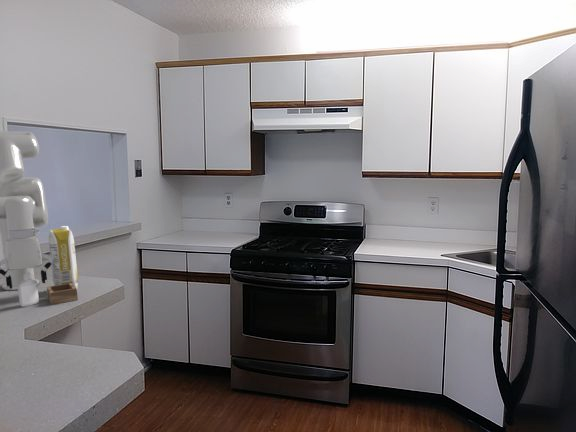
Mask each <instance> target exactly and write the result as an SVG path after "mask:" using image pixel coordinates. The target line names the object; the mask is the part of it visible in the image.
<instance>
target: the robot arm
mask: <svg viewBox="0 0 576 432" xmlns="http://www.w3.org/2000/svg"><path fill="white" fill-rule="evenodd" d="M39 154H40V145H39V142H38V139H37V137H36V136H35V135H34V133H33V132H31V131H26V130H24V131H23V130H22V131H19V130H17V131H16V130H15V131H14V130H13V131H11V130H10V131H9V130H8V131H7V130H3V131H0V239H1V247H2V253H3V254H2V256H3V259H1V260H0V274H1V275H2V276H3V277H5V283H4V284H3V285H2V286H1V287H2V289H3V290H4V291H14V290H15V291H18V284H19V283H20V282H21V281H23V279H22V274H23V273H24V270H26V269H27V271H28V273H30V276H31V280H35V281H36V282H37V286H38V285H39V284H41V283H42V284H46V281H48V277H47V270H48V269H49V268H50V267H52V266H51V264H52V261H53V259H54V257H53V256H50V254H46V253H42V250H41V249H42V248H41V246H40V245H41V244H40V242H39V239H38V236H36V235H37V234H40V229H37V228H43V227H46V226H47V225H48V224H49V212H48V211H49V210H48V204H47V200H46V199H47V198H46V192H45V186H44V184H43V182H42V180H41V179H40V178H38V177H37V176H34V177H33V176H28V177H27V176H26V177H25V167H24V162H23V161H24V160H23V159H32V158H33V159H34V158H37V157H38V156H39ZM23 176H24V177H23ZM43 259H47V262H46V263H45V264H43ZM1 266H4V269H3V268H2V267H1ZM34 268H40V276H41V283H40V279H37V278H35V270H34Z"/></svg>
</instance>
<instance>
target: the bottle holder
mask: <svg viewBox="0 0 576 432" xmlns="http://www.w3.org/2000/svg"><path fill="white" fill-rule="evenodd" d="M46 292H47V293H46V294H47V300H48V301H49V302H50V304H51V305H52V306H53V305H59V304H64V303H69V302H75V301H78V300H79V298H78V288H76V287H75V286H74V285H73V284H72V283H67V284H61V285H51V286H46Z"/></svg>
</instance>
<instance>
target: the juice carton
mask: <svg viewBox="0 0 576 432" xmlns="http://www.w3.org/2000/svg"><path fill="white" fill-rule="evenodd" d="M48 246H49V247H48V248H49V255H50V256H53V257H54V259H53V261H52V264H51V266H50V267H51V274H52V282H53V286H55V285H61V284H67V283H72V284H73V285H74V286H75V287H76V288H77V289H78V287H79V278H78V277H79V276H78V274H79V273H78V266H77V257H76V246H75V237H74V234H73V232H72V230H71V229H70V228H69V226H68V225H63V226H60V228H54V229H50V230H49V233H48Z"/></svg>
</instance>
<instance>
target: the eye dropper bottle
mask: <svg viewBox="0 0 576 432" xmlns="http://www.w3.org/2000/svg"><path fill="white" fill-rule="evenodd" d="M22 279H23V281H21V282H20V283H19V284H18V290H17V293H18V302H19V303H18V304H19V306H20V307H24V308H25V307H30V306H33V305H37V304H39V303H40V298H39V296H40V295H39V289H38V285H37V282H36V281H35V280H31V276H30V273H28V271H27V269H26V270H24V273H23V274H22Z"/></svg>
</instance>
